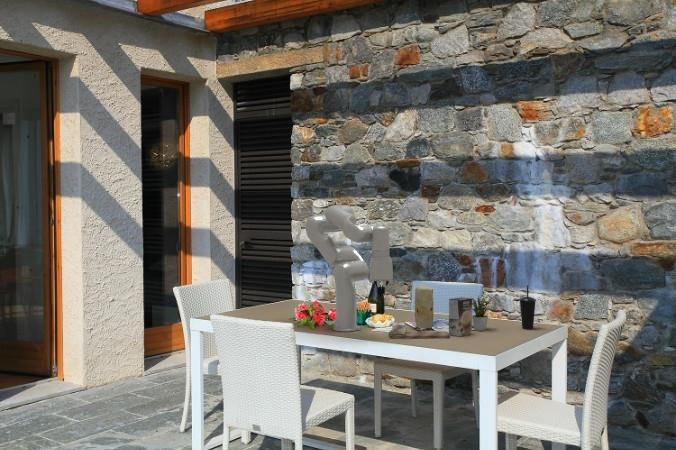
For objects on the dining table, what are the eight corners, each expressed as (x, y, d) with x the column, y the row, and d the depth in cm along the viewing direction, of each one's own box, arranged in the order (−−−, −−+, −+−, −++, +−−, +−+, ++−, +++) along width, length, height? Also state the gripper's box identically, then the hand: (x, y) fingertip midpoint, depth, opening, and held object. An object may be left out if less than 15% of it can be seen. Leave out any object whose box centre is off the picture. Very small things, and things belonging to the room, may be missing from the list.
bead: (393, 334, 321) (393, 325, 321) (392, 331, 327) (392, 322, 327) (404, 334, 321) (404, 325, 321) (403, 331, 327) (403, 322, 327)
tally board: (390, 338, 320) (389, 335, 319) (388, 334, 330) (388, 331, 329) (449, 338, 319) (449, 335, 319) (446, 333, 329) (446, 330, 329)
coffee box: (459, 336, 323) (459, 300, 322) (448, 334, 327) (448, 298, 327) (472, 333, 329) (472, 298, 328) (461, 332, 334) (461, 296, 333)
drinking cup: (517, 329, 339) (517, 286, 338) (521, 326, 346) (521, 284, 345) (534, 330, 335) (534, 286, 335) (537, 327, 342) (537, 285, 341)
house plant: (496, 333, 330) (496, 297, 329) (465, 332, 332) (465, 296, 332) (496, 327, 343) (496, 292, 343) (466, 326, 346) (466, 292, 346)
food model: (436, 328, 342) (436, 286, 341) (429, 331, 337) (428, 287, 336) (418, 326, 348) (418, 284, 347) (411, 328, 343) (410, 286, 342)
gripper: (364, 255, 319) (364, 297, 320) (398, 254, 319) (399, 296, 320) (363, 253, 327) (364, 295, 328) (397, 253, 327) (397, 294, 327)
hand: (381, 295), depth 324 cm, fingers closed
